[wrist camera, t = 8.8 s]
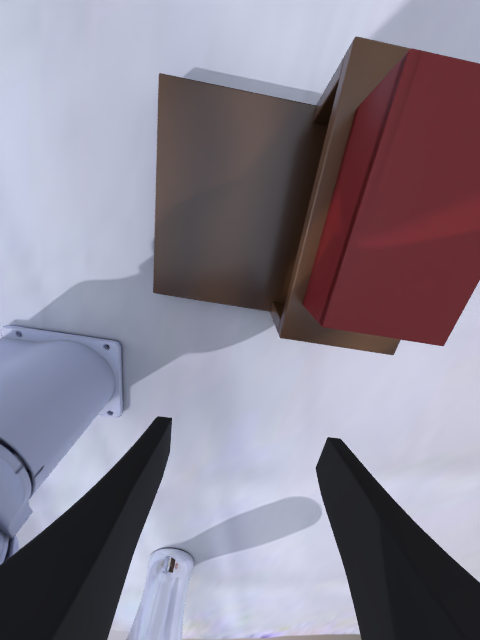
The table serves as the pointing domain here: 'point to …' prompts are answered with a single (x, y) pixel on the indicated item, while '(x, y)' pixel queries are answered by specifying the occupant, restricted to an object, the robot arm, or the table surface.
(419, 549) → the robot arm
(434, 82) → the red hardcover book
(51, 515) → the table surface
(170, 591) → the beer glass
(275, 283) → the book rack
